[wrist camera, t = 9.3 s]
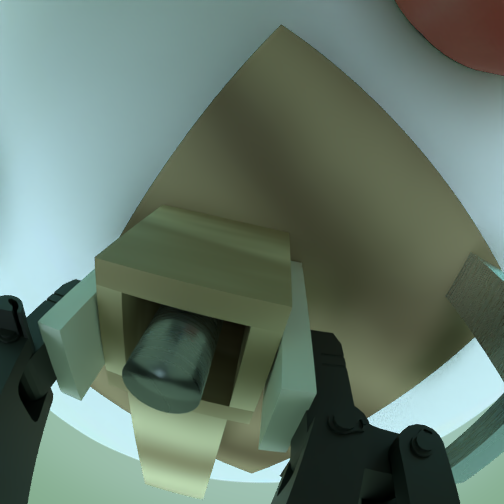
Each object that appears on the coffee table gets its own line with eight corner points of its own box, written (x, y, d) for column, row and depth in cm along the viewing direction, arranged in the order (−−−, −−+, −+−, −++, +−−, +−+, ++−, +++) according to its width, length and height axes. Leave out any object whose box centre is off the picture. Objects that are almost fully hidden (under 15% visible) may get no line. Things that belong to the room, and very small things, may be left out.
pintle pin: (208, 235, 12) (141, 344, 6) (248, 266, 12) (217, 393, 6) (181, 269, 13) (111, 382, 7) (218, 297, 13) (175, 422, 7)
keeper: (388, 375, 14) (418, 488, 8) (471, 250, 11) (566, 346, 5) (428, 383, 14) (463, 482, 8) (506, 272, 11) (587, 357, 5)
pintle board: (281, 32, 9) (281, 24, 8) (505, 287, 12) (514, 296, 12) (65, 353, 17) (58, 362, 17) (252, 463, 21) (251, 473, 20)
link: (227, 440, 18) (215, 502, 13) (155, 421, 18) (133, 479, 13) (289, 232, 11) (292, 306, 7) (163, 204, 12) (94, 257, 7)
